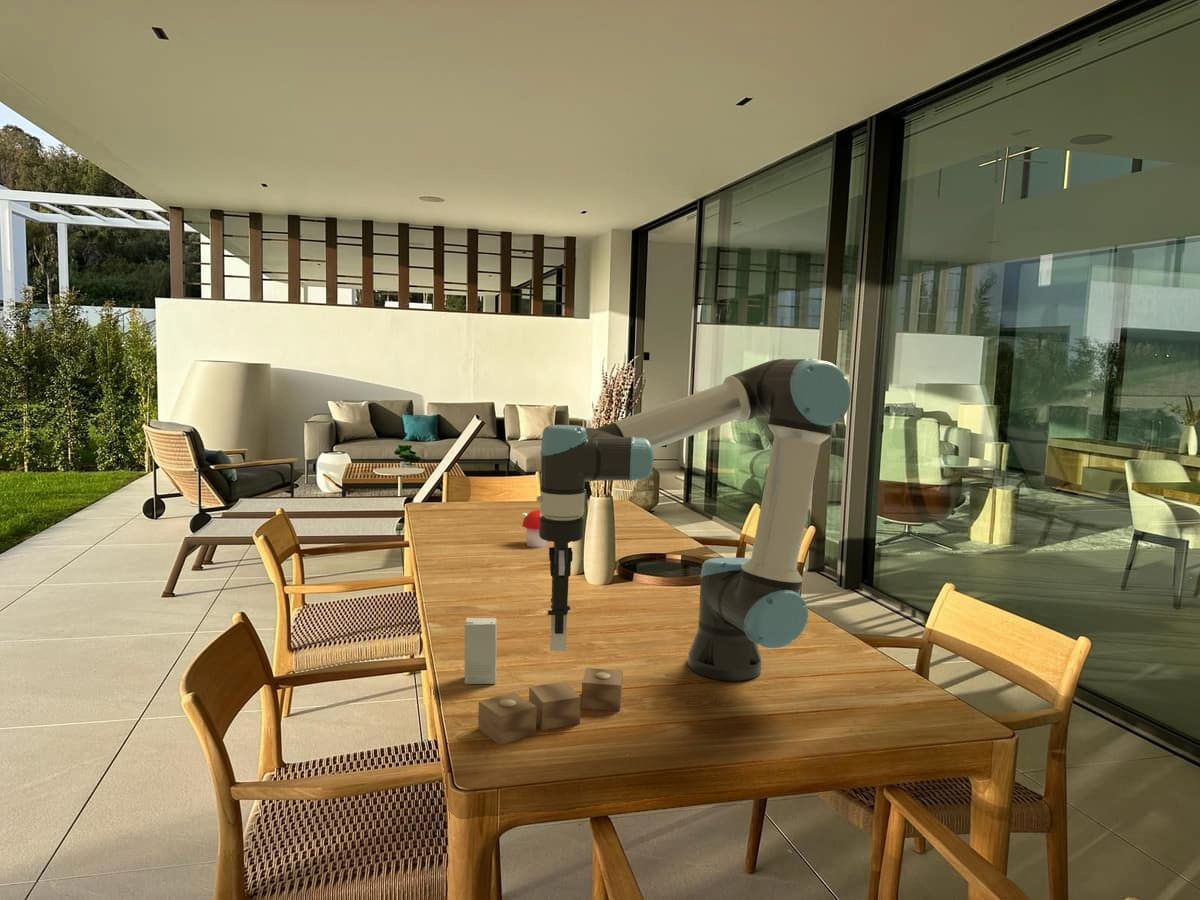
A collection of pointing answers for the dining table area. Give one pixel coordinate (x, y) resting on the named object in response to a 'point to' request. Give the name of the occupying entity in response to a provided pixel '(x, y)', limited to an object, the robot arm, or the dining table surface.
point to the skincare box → (480, 651)
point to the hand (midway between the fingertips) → (557, 649)
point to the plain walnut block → (555, 705)
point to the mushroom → (533, 529)
